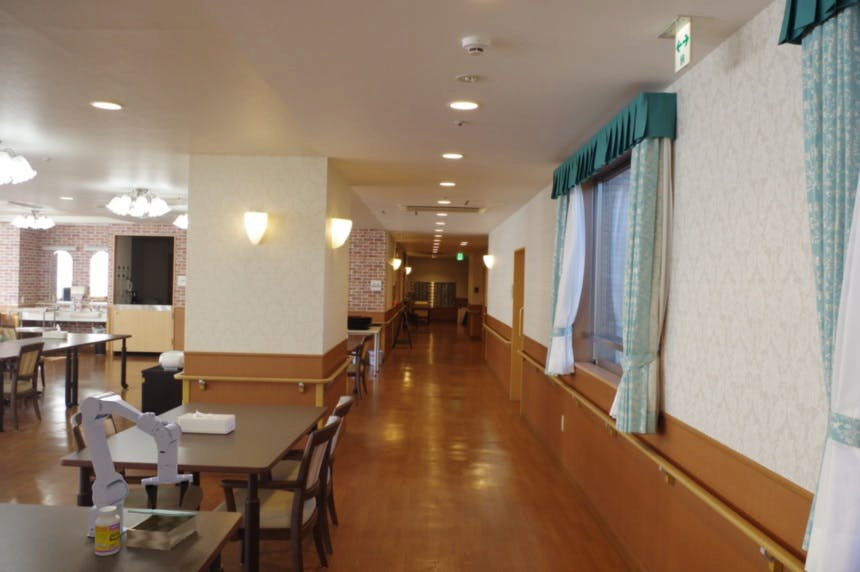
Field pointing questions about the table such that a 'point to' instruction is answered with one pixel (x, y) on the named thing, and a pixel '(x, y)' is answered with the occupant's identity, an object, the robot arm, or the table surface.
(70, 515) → the table surface
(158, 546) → the box
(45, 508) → the table surface
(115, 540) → the supplement bottle
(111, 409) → the robot arm
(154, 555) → the table surface
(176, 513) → the lid
